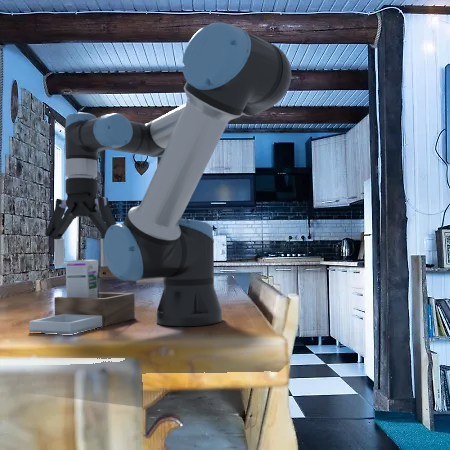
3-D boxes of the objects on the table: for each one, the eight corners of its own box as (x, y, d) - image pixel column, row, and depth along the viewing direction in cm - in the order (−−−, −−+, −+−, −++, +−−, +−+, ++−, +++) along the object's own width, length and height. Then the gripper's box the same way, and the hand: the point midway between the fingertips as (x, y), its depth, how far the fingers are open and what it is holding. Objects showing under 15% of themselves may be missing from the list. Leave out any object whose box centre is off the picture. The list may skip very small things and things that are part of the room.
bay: (134, 318, 121) (134, 293, 122) (105, 326, 110) (105, 298, 111) (86, 315, 127) (86, 292, 127) (54, 323, 116) (54, 297, 116)
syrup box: (89, 322, 117) (88, 260, 117) (65, 321, 118) (65, 260, 118) (99, 318, 122) (99, 259, 123) (77, 318, 123) (77, 259, 124)
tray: (102, 327, 109) (102, 315, 109) (70, 335, 99) (70, 323, 100) (63, 325, 113) (63, 313, 113) (29, 333, 103) (29, 321, 103)
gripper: (134, 177, 120) (134, 265, 119) (51, 182, 129) (51, 264, 129) (115, 173, 113) (116, 267, 112) (30, 179, 122) (30, 266, 122)
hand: (81, 266), depth 121 cm, fingers open, 13 cm apart
